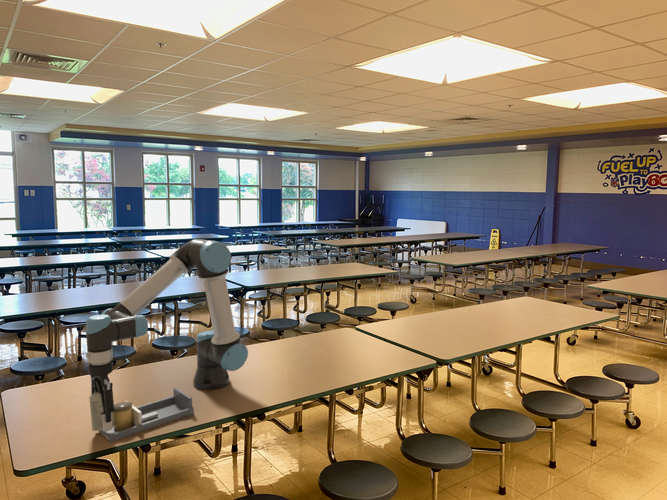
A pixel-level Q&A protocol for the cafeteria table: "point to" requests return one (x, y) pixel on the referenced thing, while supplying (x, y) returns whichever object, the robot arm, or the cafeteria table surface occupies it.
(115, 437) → the lane
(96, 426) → the skincare box
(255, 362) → the cafeteria table surface
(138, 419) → the pusher
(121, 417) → the jar
